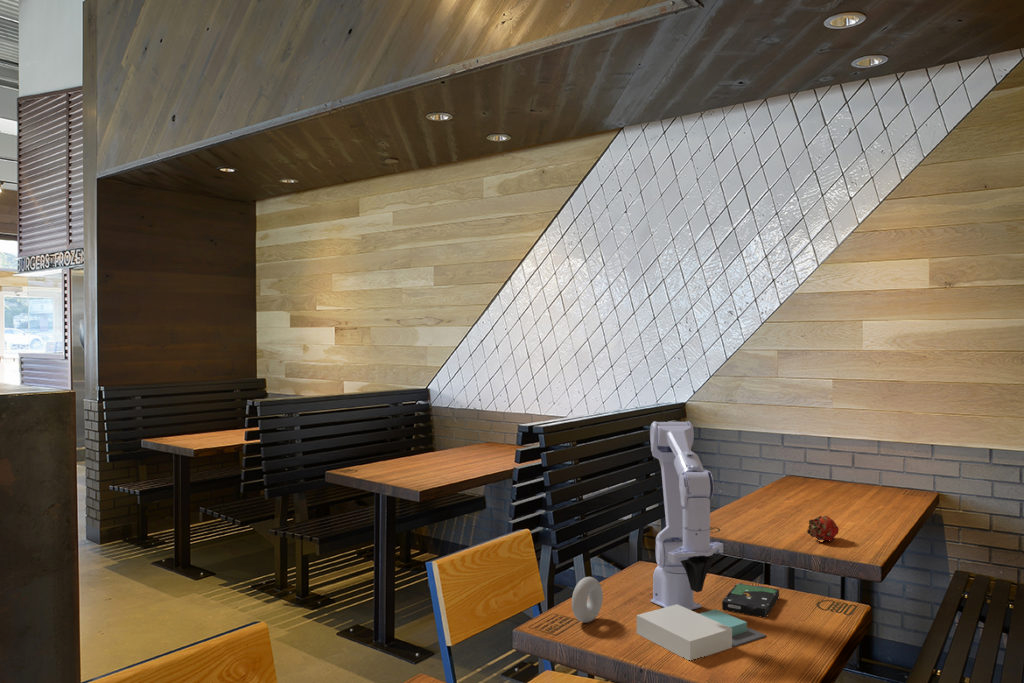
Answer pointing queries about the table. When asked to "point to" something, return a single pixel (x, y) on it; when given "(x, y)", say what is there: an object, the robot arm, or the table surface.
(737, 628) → the teal rectangular block
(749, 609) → the disk drive
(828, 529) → the dragon fruit
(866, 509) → the table surface
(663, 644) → the white flat block
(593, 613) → the donut
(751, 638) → the mat
